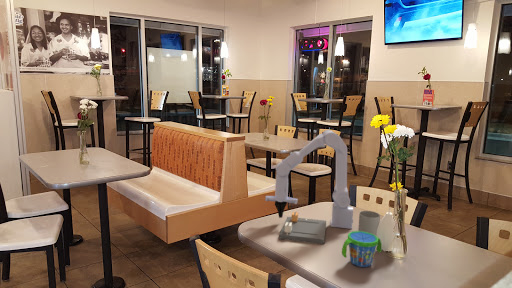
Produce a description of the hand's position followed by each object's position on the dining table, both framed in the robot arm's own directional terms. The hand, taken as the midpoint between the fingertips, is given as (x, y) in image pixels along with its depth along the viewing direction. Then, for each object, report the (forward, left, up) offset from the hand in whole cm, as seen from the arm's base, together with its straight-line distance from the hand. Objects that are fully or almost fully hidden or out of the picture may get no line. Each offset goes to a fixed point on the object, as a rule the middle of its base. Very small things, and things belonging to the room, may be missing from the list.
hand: (280, 217), depth 165 cm
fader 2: (-7, 0, -1) cm, 7 cm away
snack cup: (-35, +29, -3) cm, 45 cm away
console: (-12, +6, -3) cm, 14 cm away
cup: (-39, +4, -3) cm, 39 cm away
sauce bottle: (-45, +16, -3) cm, 47 cm away
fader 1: (-6, +13, -1) cm, 14 cm away
